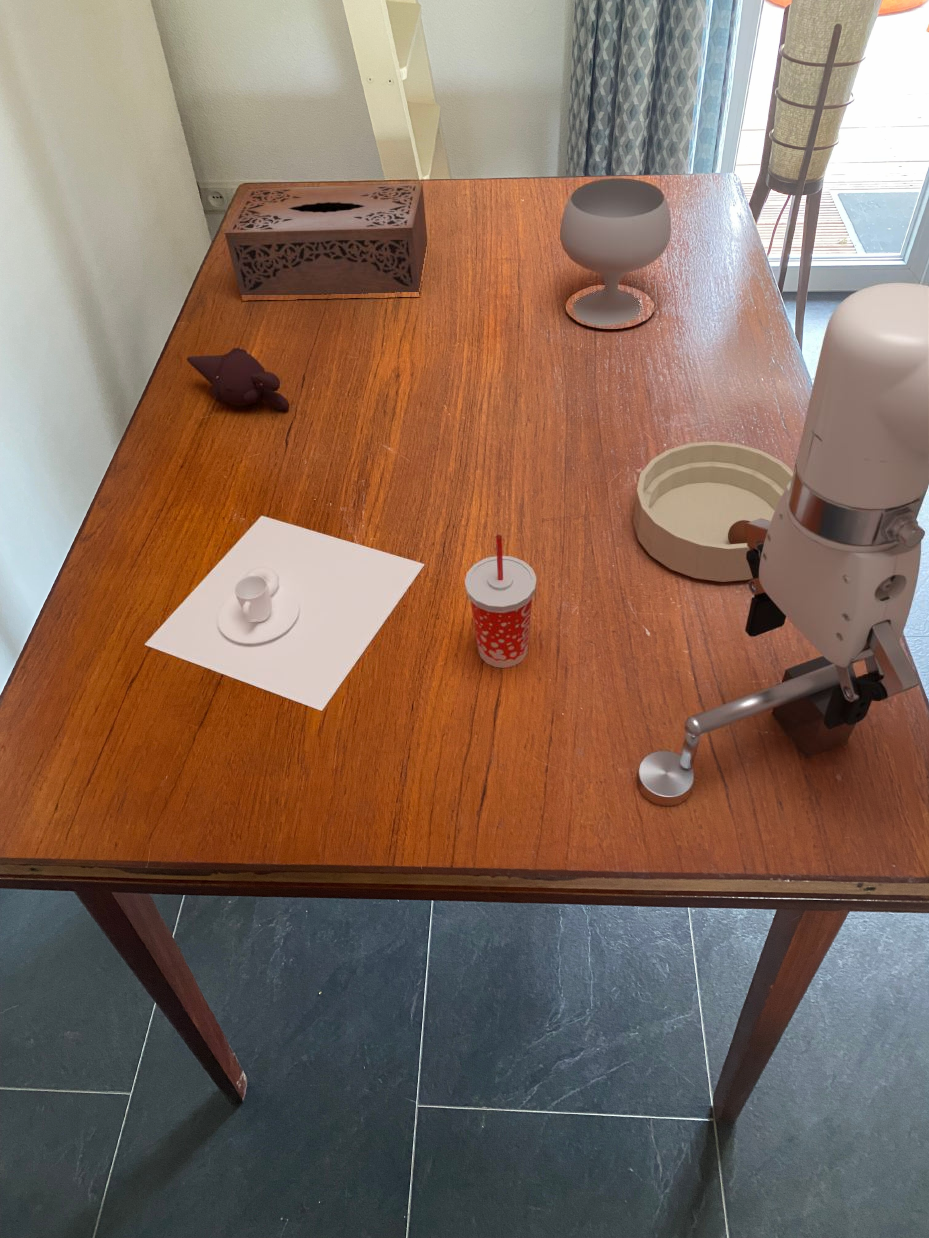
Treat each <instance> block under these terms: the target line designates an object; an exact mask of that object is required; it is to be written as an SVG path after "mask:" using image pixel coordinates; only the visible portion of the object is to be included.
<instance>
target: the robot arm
mask: <svg viewBox="0 0 929 1238" xmlns="http://www.w3.org/2000/svg"><path fill="white" fill-rule="evenodd" d="M822 339H823V340H822V344H821V349H820V353H819V357H818V361H817V366H816V371H815V375H814V378H813V384H812V388H811V393H810V397H809V401H808V405H807V410H806V415H805V420H804V424H803V429H802V434H801V437H800V442H799V445H798V450H797V455H796V459H795V463H794V467H793V476H792V481H791V482H790V483H789V484H788V485H787V487H786V489H785V491H784V492H783V494H782V496H781V498H780V501H779V503H778V505H777V507H776V509H775V512H774V514H773V517H772V520H771V521H769V520H765V519H762V518H760V519H757V520H754V521H751V522H749V523H746V524H745V533H746V540H747V547H749V549H750V550H749V551H747V553H746V560H747V562H748V564H749V567H750V570H751V574H752V577H753V578H752V579H749V581H748V583H747V584H748V589H749V592H750V593H751V594H752V595H754V596H752V597H751V600H750V605H749V610H748V615H747V619H746V624H745V629H744V631H745V633H746V634H747V635H748V636H749V637H753V638H754V637H757V636H760V635H762V634H765V633H767V632H770V631H771V632H772V631H773V630H776V629H778V628H781V627H783V626H784V625H785V624H786V620H787V619H788V620H789V621H790V622H791V624H792V625H793V626H794V627H795V628H796V629H797V630H798V631H799V632H800V633H801V634H802V635H803V637H804V638H805V639H806V640H807V641H808V642H809V643H810V644H811V645H812V646H813V647H814V648H815V650H817V652H818V653H819V654H820V655H821V656H824V657H825V658H826V659H827V660H828V661H830V662H832V663H833V664H835V666H836V670H837V674H838V677H839V681H840V685H841V686H840V687H838V688H836V689H834V690H833V692H832V695H831V698H830V701H829V704H828V707H827V710H826V713H825V716H824V719H823V721H824V722H823V723H824V725H825V726H826V727H827V728H828V729H832V728H835V727H837V726H840V725H842V724H845V723H846V724H847V725H853V724H855V723H856V724H858V723H859V722H861V721H863V720H864V719H865V718H866V716H867V715H868V712H869V709H870V707H871V704H872V702H881V701H884V700H887V699H889V698H891V697H894V696H896V695H899V694H901V693H904V692H906V691H909V690H911V689H914V688H916V687H918V686H919V684H920V679H919V677H918V675H917V673H916V671H915V669H914V667H913V665H912V663H911V661H910V660H909V658H908V655H906V652H905V650H904V648H903V647H902V645H901V643H900V640H901V638H902V636H903V634H904V630H905V627H906V625H907V622H908V619H909V615H910V611H911V609H912V605H913V601H914V597H915V592H916V589H917V585H918V579H919V574H920V566H921V559H922V557H921V556H922V540H923V539H924V537H925V536H926V531H925V530H924V529H923V527H921V525H919V522H918V516H919V514H920V511H921V508H922V506H923V502H924V500H925V497H926V495H927V492H928V489H929V285H925V284H919V283H910V282H890V283H889V282H888V283H887V282H886V283H881V284H880V283H879V284H875V285H871V286H867V287H865V288H862V289H860V290H857V291H855V292H853V293H851V294H850V295H848V296H847V297H846V298H844V300H842V301H841V302H840V303H839V304H838V305H837V307H836V308H835V309H834V311H833V312H832V314H831V316H830V318H829V319H828V322H827V325H826V329H825V332H824V336H823V338H822ZM863 660H864V664H865V669H866V672H867V673H865V674H861V675H859V676H857V675H856V671H855V667H854V664H855V663H858V662H860V661H863Z"/></svg>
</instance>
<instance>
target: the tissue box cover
mask: <svg viewBox="0 0 929 1238" xmlns="http://www.w3.org/2000/svg"><path fill="white" fill-rule="evenodd" d="M232 216H233V217H232V218H231V220H230V222H229V224H228V226H227V228H226V230H225V231H224V235H225V236H224V237H225V240H226V244H227V248H228V251H229V255H230V259H231V264H232V268H233V272H234V275H235V280H236V283H237V287H238V291H239V295H240V296H241V295H322V294H323V295H327V294H329V295H331V294H362V293H363V294H366V293H367V294H368V293H389V292H390V293H395V292H400V293H401V292H419V288H420V282H421V276H422V270H423V264H424V258H425V253H426V247H427V241H428V232H427V219H426V208H425V198H424V187H423V182H413V183H412V182H407V183H406V182H404V183H401V182H400V183H374V184H373V183H372V184H346V185H345V184H344V185H342V184H341V185H339V184H338V185H311V186H310V185H309V186H280V187H279V186H278V187H277V186H276V187H275V186H274V187H250V188H247V190H246V191H245V194H244V195H243V197H242V199H241V201H240V203H239V205H238V206H237V209H236V210H235V213H234V214H233V215H232Z"/></svg>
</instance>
